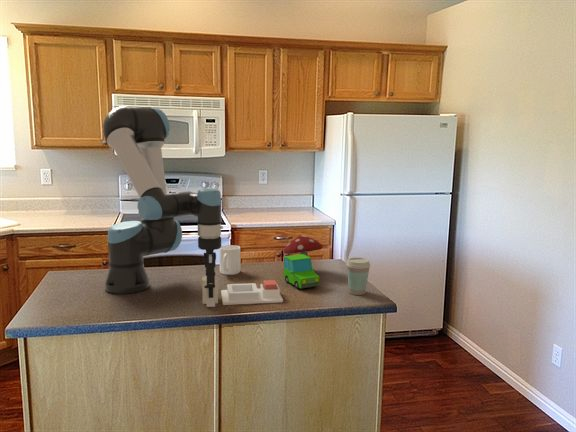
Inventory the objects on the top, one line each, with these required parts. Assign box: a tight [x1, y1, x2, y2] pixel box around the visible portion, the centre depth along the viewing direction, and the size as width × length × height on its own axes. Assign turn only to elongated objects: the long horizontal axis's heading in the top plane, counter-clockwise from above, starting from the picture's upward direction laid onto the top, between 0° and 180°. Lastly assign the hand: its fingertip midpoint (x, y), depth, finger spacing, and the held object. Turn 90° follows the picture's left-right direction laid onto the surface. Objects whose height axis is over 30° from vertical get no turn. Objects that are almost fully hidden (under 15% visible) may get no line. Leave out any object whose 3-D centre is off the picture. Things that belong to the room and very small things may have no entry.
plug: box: [201, 275, 219, 305], centre depth 164 cm, size 5×5×10 cm
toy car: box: [283, 253, 320, 290], centre depth 183 cm, size 10×13×10 cm
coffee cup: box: [345, 257, 371, 296], centre depth 175 cm, size 9×9×12 cm
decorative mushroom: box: [282, 234, 324, 257], centre depth 199 cm, size 16×16×15 cm
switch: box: [262, 279, 278, 290], centre depth 170 cm, size 4×5×2 cm
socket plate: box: [220, 282, 284, 306], centre depth 169 cm, size 20×13×3 cm, turn 100°
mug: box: [219, 244, 241, 276], centre depth 195 cm, size 12×8×10 cm
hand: (210, 300), depth 165 cm, fingers open, 11 cm apart
